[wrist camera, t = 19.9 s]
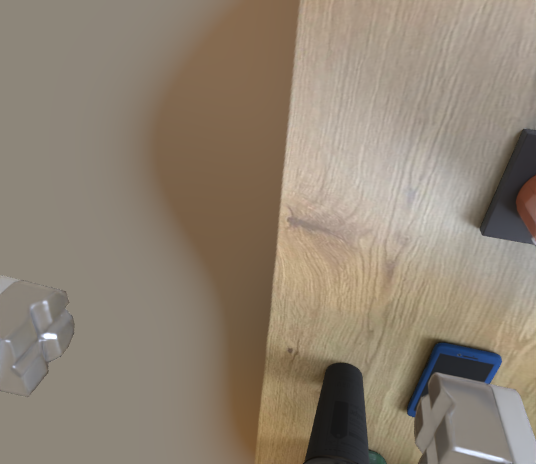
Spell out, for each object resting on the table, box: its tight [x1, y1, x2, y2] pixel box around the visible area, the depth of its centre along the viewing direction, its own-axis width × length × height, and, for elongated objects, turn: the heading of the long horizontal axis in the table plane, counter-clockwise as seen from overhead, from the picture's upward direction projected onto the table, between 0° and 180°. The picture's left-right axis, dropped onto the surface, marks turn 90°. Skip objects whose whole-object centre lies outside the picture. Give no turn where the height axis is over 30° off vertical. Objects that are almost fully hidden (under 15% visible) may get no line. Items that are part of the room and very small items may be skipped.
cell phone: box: [407, 343, 502, 417], centre depth 51 cm, size 7×14×1 cm, turn 175°
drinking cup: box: [303, 363, 370, 464], centre depth 47 cm, size 8×8×20 cm
